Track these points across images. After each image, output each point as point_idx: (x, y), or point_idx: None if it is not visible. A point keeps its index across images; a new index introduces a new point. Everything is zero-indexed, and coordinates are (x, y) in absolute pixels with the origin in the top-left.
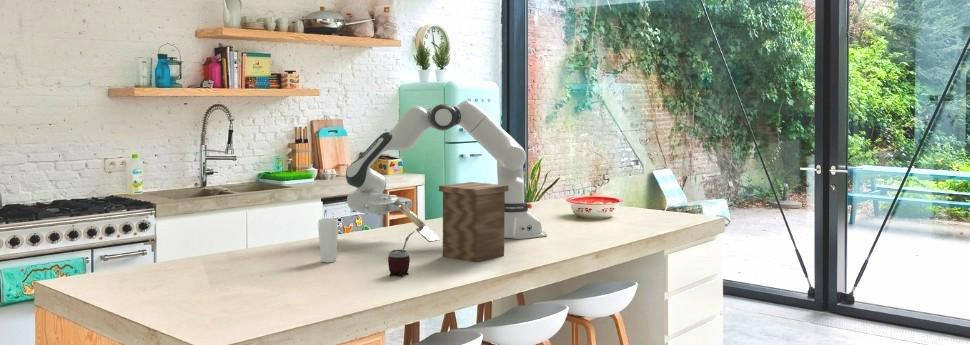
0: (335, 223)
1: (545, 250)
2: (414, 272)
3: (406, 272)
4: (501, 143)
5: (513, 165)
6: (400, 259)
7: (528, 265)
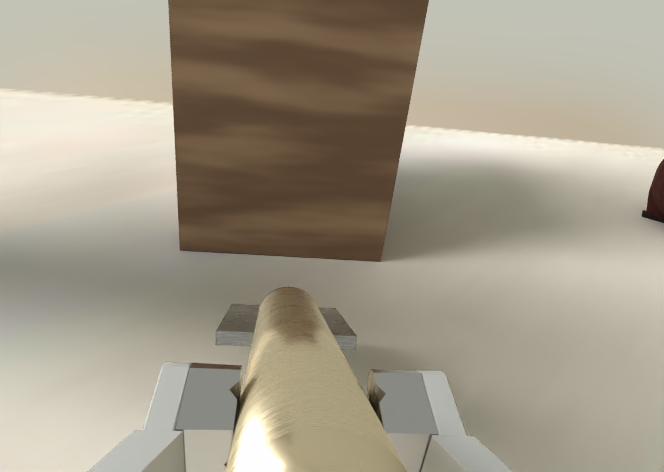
0: None
1: (39, 136)
2: (612, 215)
3: (650, 210)
4: None
5: None
6: None
7: None
